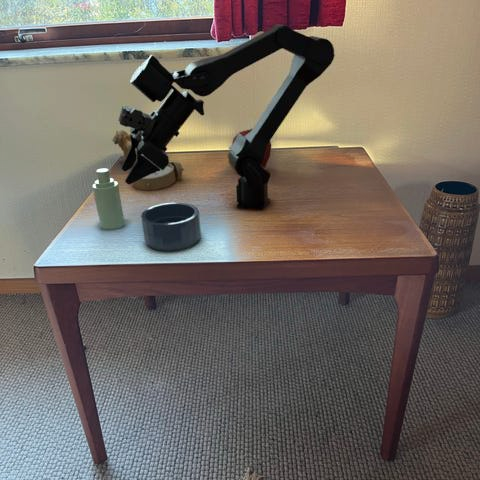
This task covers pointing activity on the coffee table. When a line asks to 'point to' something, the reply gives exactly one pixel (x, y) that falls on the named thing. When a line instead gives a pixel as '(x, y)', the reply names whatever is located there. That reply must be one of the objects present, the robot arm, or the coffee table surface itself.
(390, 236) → the coffee table surface
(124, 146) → the lion figurine
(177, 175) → the alarm clock
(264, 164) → the apple
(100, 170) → the capped bottle
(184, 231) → the pot
